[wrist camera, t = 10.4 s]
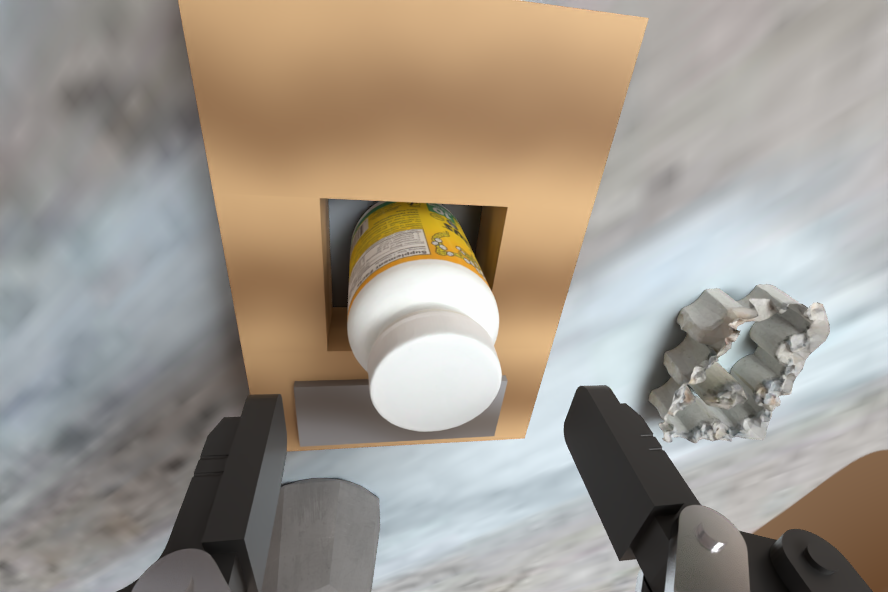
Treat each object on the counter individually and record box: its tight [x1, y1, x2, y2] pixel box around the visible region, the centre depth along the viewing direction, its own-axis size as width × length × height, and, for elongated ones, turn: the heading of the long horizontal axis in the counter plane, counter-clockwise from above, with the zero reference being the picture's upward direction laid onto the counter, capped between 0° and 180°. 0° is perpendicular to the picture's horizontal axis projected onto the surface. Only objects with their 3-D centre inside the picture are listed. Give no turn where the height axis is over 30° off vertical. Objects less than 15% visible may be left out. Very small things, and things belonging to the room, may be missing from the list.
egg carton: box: [648, 284, 830, 443], centre depth 27 cm, size 11×8×4 cm
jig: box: [178, 0, 649, 451], centre depth 19 cm, size 20×14×4 cm
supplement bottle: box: [347, 201, 502, 432], centre depth 17 cm, size 5×5×10 cm
